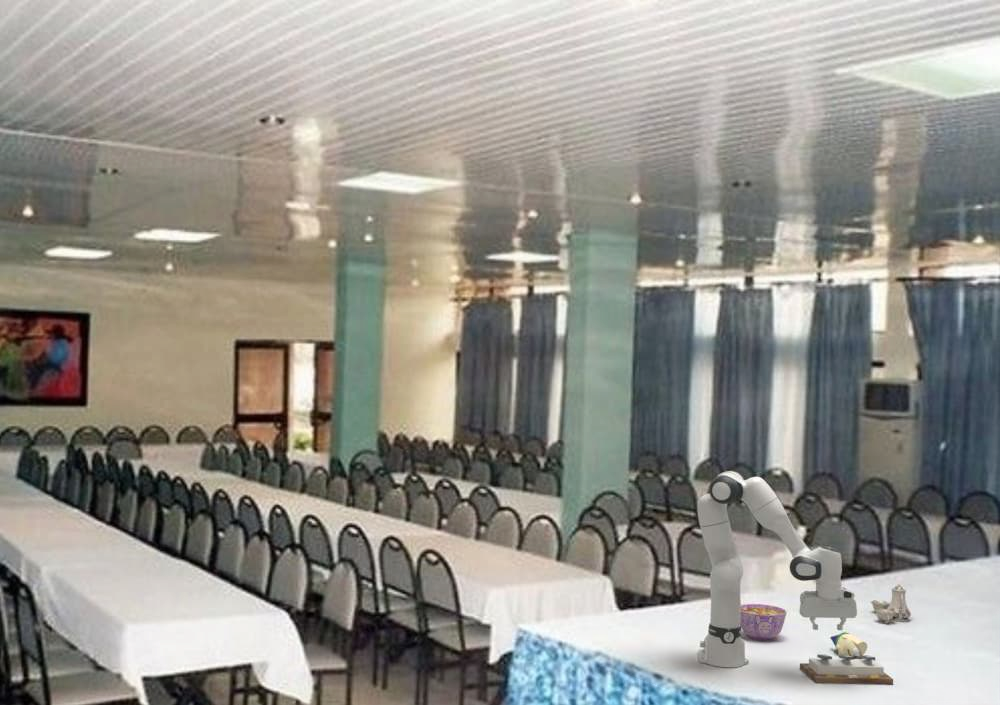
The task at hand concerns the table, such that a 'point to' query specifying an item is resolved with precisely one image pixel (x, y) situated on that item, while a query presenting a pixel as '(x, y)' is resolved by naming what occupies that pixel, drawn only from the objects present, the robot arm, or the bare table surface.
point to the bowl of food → (762, 620)
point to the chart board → (845, 677)
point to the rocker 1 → (824, 656)
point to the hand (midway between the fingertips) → (827, 629)
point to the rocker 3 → (867, 657)
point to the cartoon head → (849, 644)
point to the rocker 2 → (846, 657)
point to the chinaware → (893, 607)
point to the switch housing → (845, 667)
